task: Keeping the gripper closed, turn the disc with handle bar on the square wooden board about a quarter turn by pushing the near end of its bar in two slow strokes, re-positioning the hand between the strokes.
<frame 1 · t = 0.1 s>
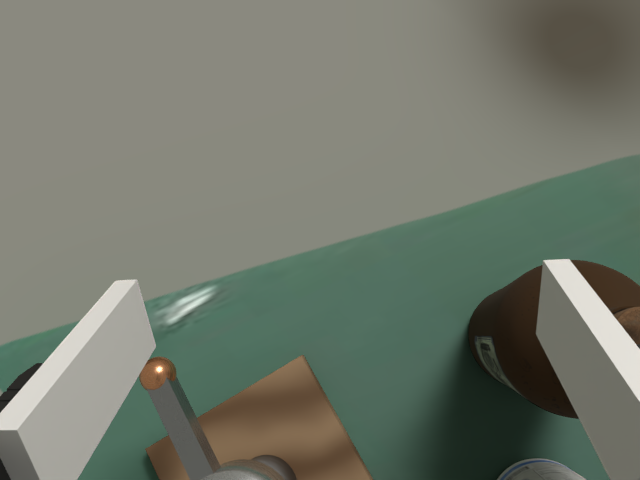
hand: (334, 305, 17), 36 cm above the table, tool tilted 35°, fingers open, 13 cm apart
olive oil: (515, 336, 50), on the table
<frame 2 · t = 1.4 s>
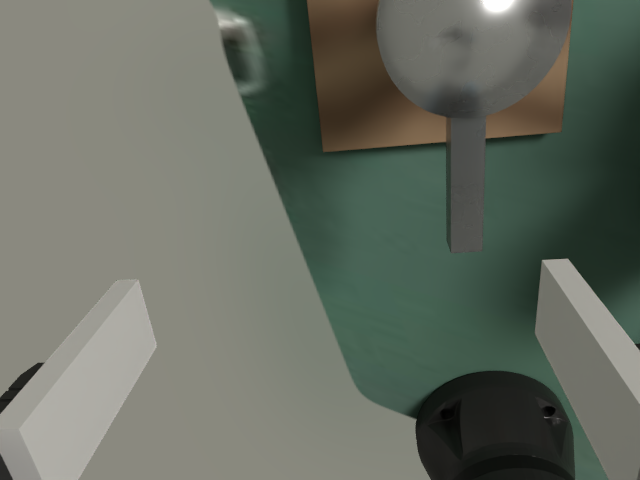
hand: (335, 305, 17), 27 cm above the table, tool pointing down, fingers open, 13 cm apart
disc with handle bar: (465, 1, 26), point 12 cm above the table, hinge at 0.0°
square wooden board: (435, 14, 37), on the table
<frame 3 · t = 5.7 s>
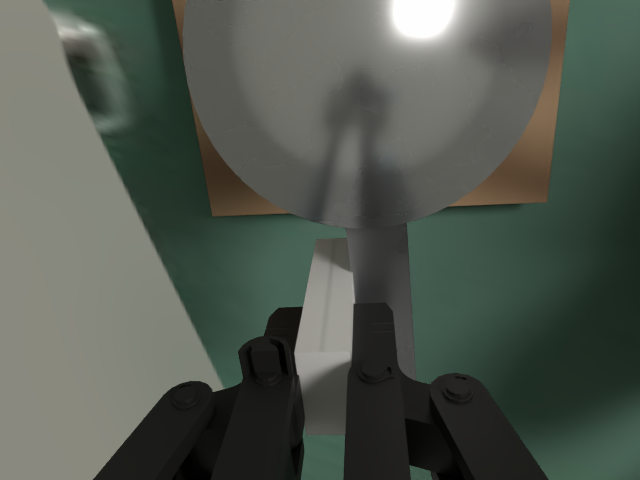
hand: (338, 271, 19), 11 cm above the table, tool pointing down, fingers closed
disc with handle bar: (359, 17, 14), point 12 cm above the table, hinge at 2.5°, touching gripper
square wooden board: (366, 28, 25), on the table
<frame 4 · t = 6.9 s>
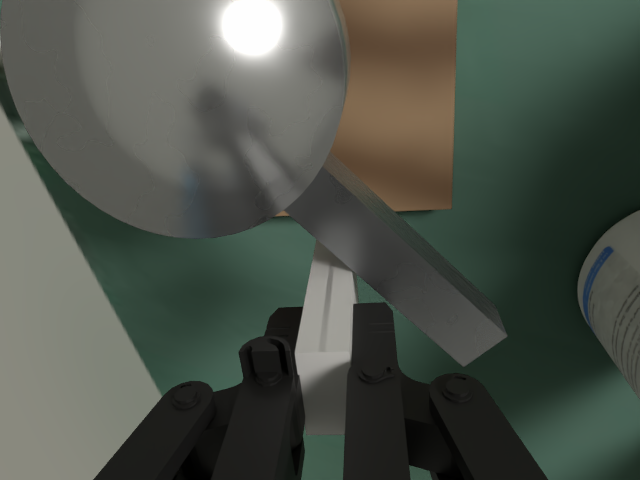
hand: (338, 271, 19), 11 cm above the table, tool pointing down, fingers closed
disc with handle bar: (168, 47, 15), point 12 cm above the table, hinge at 42.8°, touching gripper
square wooden board: (269, 39, 26), on the table
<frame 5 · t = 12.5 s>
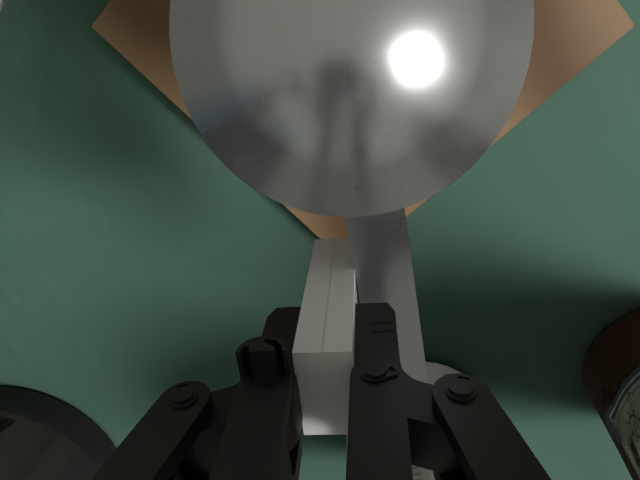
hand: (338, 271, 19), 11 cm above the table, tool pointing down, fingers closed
disc with handle bar: (342, 8, 14), point 12 cm above the table, hinge at 55.8°, touching gripper
square wooden board: (353, 24, 25), on the table
supplement tub: (416, 407, 36), on the table
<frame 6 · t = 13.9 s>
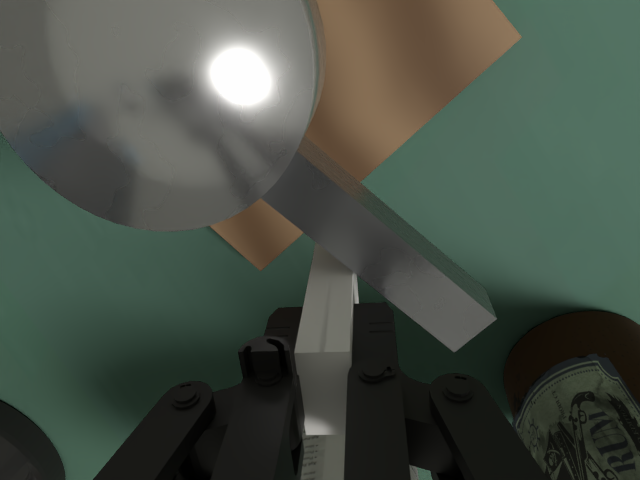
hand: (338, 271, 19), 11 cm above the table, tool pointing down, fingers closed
disc with handle bar: (139, 39, 15), point 12 cm above the table, hinge at 94.8°, touching gripper
square wooden board: (252, 34, 26), on the table
olive oil: (577, 367, 33), on the table
supplement tub: (343, 411, 36), on the table
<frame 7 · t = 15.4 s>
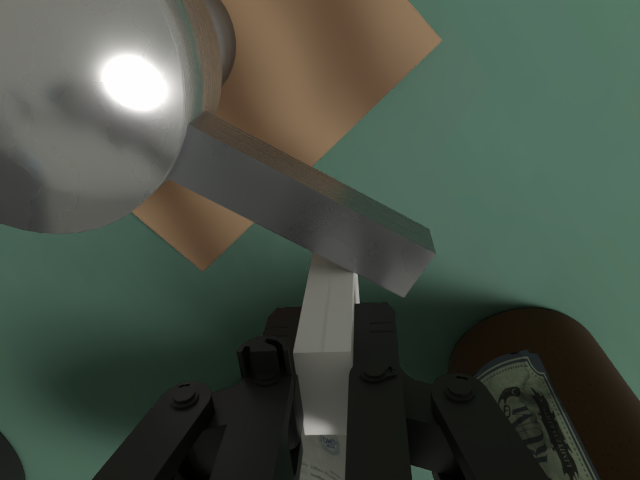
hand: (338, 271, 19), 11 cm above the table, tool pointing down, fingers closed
disc with handle bar: (25, 53, 15), point 12 cm above the table, hinge at 106.9°, touching gripper
square wooden board: (184, 38, 26), on the table
olive oil: (520, 364, 33), on the table
supplement tub: (295, 409, 37), on the table
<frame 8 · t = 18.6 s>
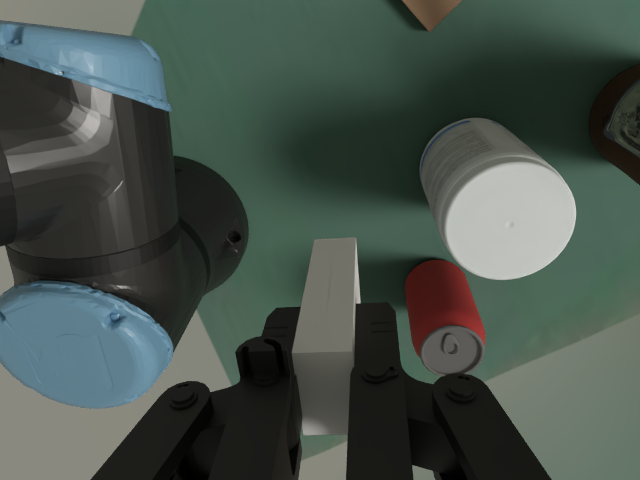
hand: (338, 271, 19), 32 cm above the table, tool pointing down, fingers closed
supplement tub: (468, 163, 50), on the table
beer can: (434, 282, 56), on the table
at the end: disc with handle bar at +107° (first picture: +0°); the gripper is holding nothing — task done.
